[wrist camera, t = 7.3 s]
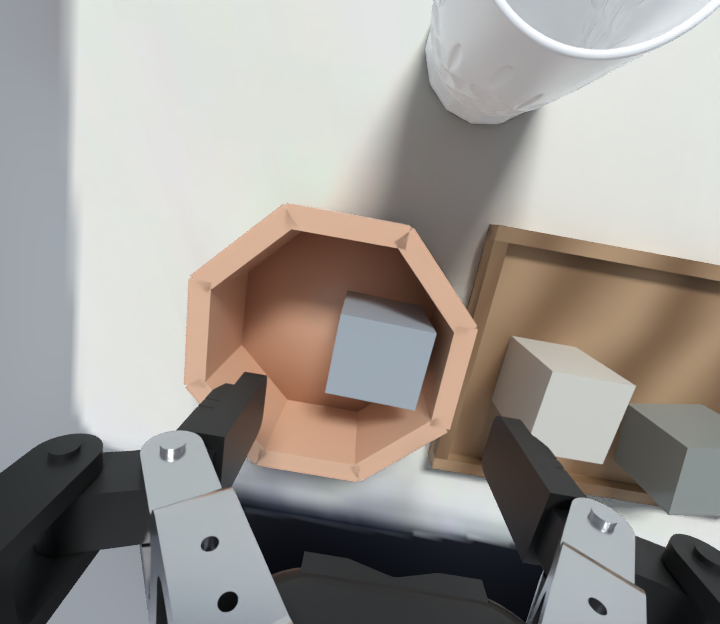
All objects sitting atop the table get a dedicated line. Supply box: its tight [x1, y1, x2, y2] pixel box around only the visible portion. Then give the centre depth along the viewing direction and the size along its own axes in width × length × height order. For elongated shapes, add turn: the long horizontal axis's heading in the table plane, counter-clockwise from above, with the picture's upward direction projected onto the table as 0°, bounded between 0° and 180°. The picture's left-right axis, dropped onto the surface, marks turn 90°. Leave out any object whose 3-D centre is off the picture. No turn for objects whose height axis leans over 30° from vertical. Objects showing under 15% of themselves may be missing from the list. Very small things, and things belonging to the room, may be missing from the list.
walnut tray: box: [429, 224, 720, 506], centre depth 22 cm, size 22×16×1 cm
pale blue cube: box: [325, 291, 437, 411], centre depth 19 cm, size 4×4×5 cm
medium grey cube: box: [615, 403, 720, 516], centre depth 21 cm, size 5×4×4 cm
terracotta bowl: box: [184, 203, 478, 482], centre depth 19 cm, size 13×13×6 cm
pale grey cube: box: [492, 336, 636, 464], centre depth 19 cm, size 4×4×5 cm
